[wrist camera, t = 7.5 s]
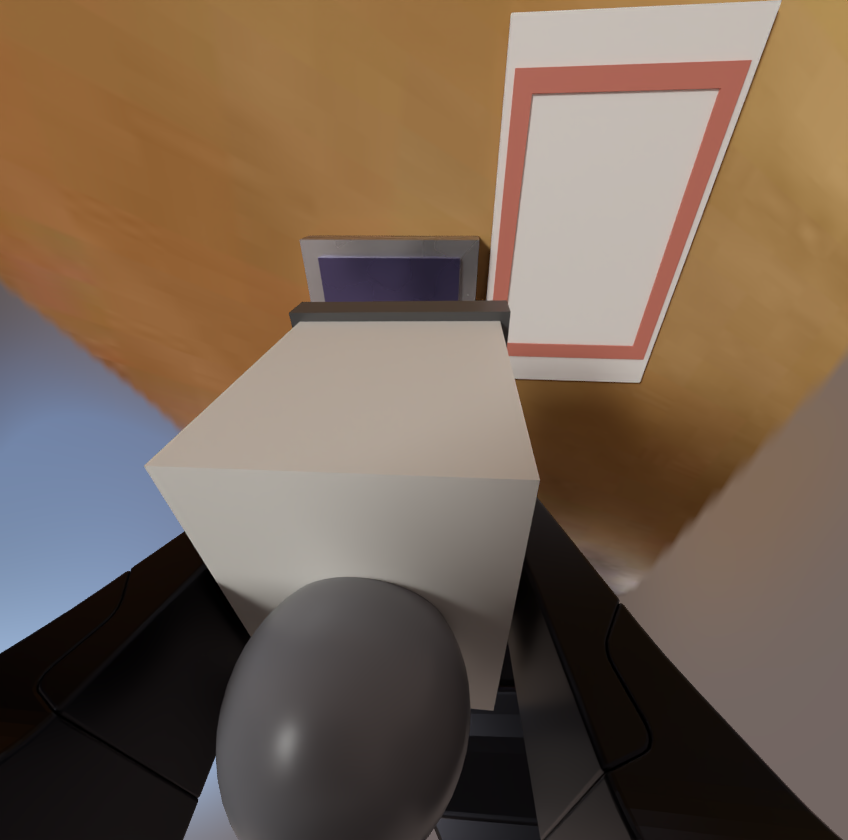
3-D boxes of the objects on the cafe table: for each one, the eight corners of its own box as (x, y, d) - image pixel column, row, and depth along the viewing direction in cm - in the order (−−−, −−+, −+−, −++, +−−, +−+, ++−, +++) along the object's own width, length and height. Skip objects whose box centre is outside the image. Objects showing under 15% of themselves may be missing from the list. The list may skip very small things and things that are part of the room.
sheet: (637, 380, 20) (640, 383, 20) (479, 375, 21) (480, 378, 20) (775, 3, 12) (783, -2, 12) (510, 15, 13) (512, 11, 12)
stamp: (506, 300, 8) (712, 900, 1) (487, 507, 12) (518, 934, 5) (301, 301, 9) (-272, 769, 2) (346, 500, 12) (209, 889, 6)
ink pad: (467, 403, 22) (467, 416, 20) (336, 398, 22) (329, 410, 21) (478, 235, 17) (479, 241, 15) (308, 235, 17) (297, 240, 16)
